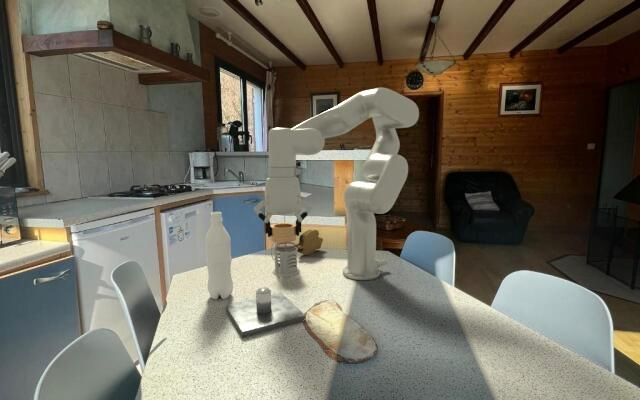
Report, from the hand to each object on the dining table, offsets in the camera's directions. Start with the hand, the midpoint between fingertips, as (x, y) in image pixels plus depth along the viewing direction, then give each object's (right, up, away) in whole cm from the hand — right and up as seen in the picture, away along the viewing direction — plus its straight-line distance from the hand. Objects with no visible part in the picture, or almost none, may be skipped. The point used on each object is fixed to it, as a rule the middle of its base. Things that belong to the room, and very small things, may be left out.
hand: (283, 235), depth 100 cm
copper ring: (0, -1, 0) cm, 1 cm away
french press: (-2, -15, +23) cm, 27 cm away
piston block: (-4, -20, -9) cm, 22 cm away
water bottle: (-19, -19, +4) cm, 27 cm away
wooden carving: (+6, -12, +44) cm, 46 cm away
